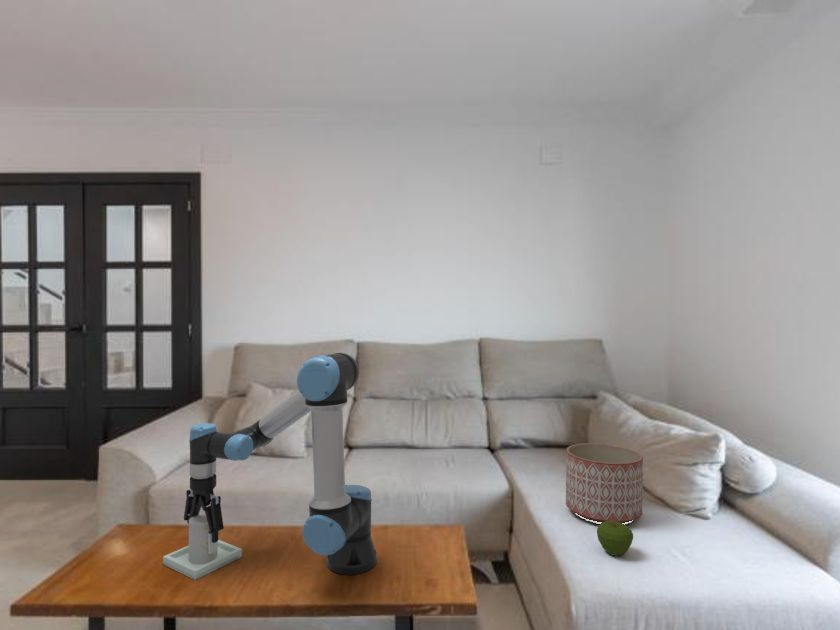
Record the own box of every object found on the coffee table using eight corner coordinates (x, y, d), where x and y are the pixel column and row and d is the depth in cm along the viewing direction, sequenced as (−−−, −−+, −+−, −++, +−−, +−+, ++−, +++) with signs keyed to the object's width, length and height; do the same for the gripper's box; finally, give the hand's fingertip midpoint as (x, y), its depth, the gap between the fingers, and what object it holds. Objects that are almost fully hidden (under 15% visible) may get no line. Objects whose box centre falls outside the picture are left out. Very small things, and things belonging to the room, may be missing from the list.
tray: (241, 556, 157) (241, 548, 157) (195, 580, 144) (195, 571, 144) (209, 543, 166) (209, 536, 166) (163, 564, 152) (163, 556, 152)
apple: (591, 553, 161) (591, 522, 161) (604, 542, 169) (605, 512, 169) (625, 565, 154) (625, 532, 154) (638, 553, 161) (638, 522, 161)
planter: (647, 510, 196) (648, 449, 196) (635, 536, 173) (636, 468, 173) (576, 495, 211) (577, 439, 211) (556, 518, 188) (557, 455, 187)
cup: (206, 565, 150) (206, 525, 150) (182, 562, 152) (182, 523, 151) (222, 552, 158) (222, 514, 158) (199, 549, 160) (199, 512, 159)
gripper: (236, 478, 152) (236, 552, 152) (192, 465, 163) (192, 534, 164) (214, 485, 145) (214, 562, 146) (170, 472, 157) (171, 543, 157)
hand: (203, 548), depth 155 cm, fingers open, 9 cm apart
